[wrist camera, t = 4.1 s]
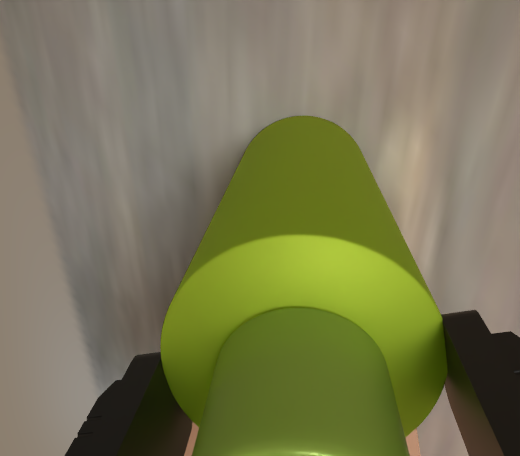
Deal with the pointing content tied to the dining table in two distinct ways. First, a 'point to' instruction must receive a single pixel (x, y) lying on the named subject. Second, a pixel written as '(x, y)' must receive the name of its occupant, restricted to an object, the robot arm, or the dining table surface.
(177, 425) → the robot arm
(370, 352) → the green pump bottle
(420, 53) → the dining table surface
